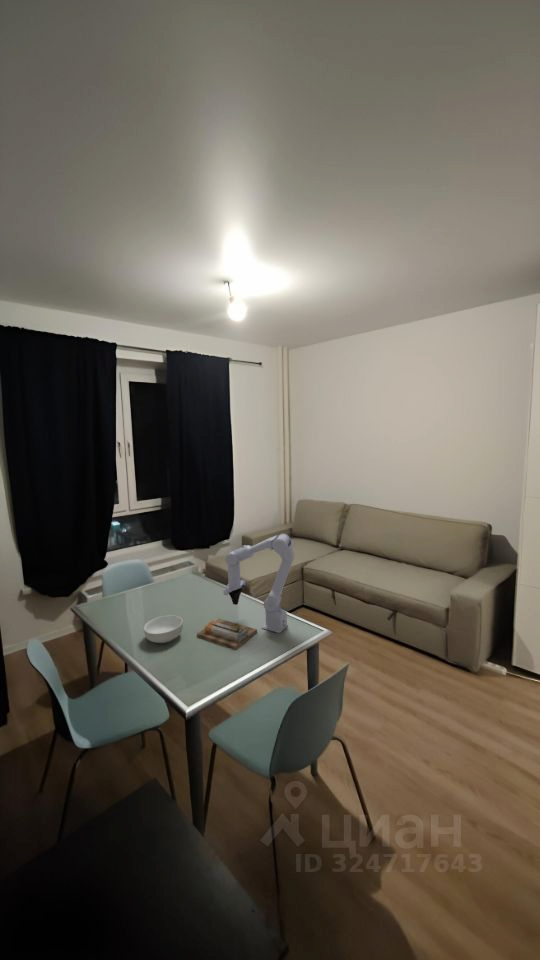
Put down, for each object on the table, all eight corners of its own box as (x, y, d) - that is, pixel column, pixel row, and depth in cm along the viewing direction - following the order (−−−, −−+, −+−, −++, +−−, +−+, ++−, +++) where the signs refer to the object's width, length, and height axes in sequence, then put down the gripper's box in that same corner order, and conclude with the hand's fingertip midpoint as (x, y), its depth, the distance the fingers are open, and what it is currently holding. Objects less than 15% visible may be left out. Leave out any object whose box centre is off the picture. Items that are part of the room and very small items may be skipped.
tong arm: (243, 636, 168) (243, 629, 168) (240, 638, 166) (240, 632, 166) (212, 626, 178) (212, 620, 177) (208, 629, 176) (208, 622, 175)
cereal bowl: (169, 625, 184) (168, 611, 183) (191, 636, 173) (190, 621, 172) (137, 640, 171) (136, 625, 170) (159, 653, 160) (158, 637, 159)
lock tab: (241, 627, 169) (241, 625, 169) (236, 630, 166) (236, 628, 166) (235, 625, 171) (235, 623, 171) (230, 629, 168) (230, 627, 168)
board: (257, 632, 174) (256, 629, 174) (235, 649, 161) (235, 646, 160) (219, 621, 186) (219, 618, 186) (196, 636, 172) (196, 633, 172)
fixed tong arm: (248, 635, 169) (247, 629, 168) (238, 643, 163) (238, 636, 162) (215, 625, 178) (215, 619, 178) (205, 632, 173) (205, 626, 172)
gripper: (236, 570, 189) (237, 596, 191) (217, 580, 177) (219, 608, 179) (248, 572, 186) (249, 599, 187) (229, 583, 174) (231, 611, 175)
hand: (235, 603), depth 183 cm, fingers closed
